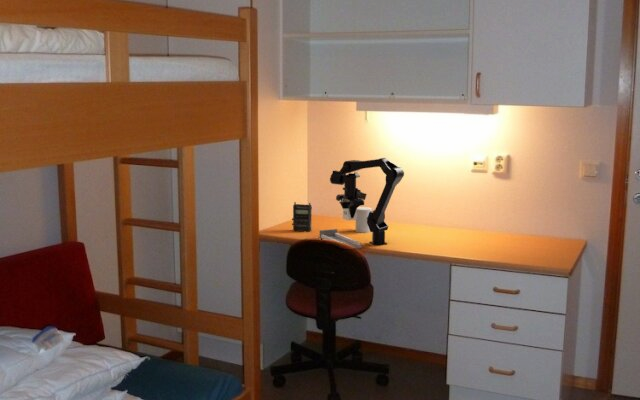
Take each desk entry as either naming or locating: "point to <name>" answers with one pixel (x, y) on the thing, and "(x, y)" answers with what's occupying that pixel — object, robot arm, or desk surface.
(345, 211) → the block
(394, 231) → the desk surface
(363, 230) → the cup
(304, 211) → the geiger counter
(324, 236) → the rail board
